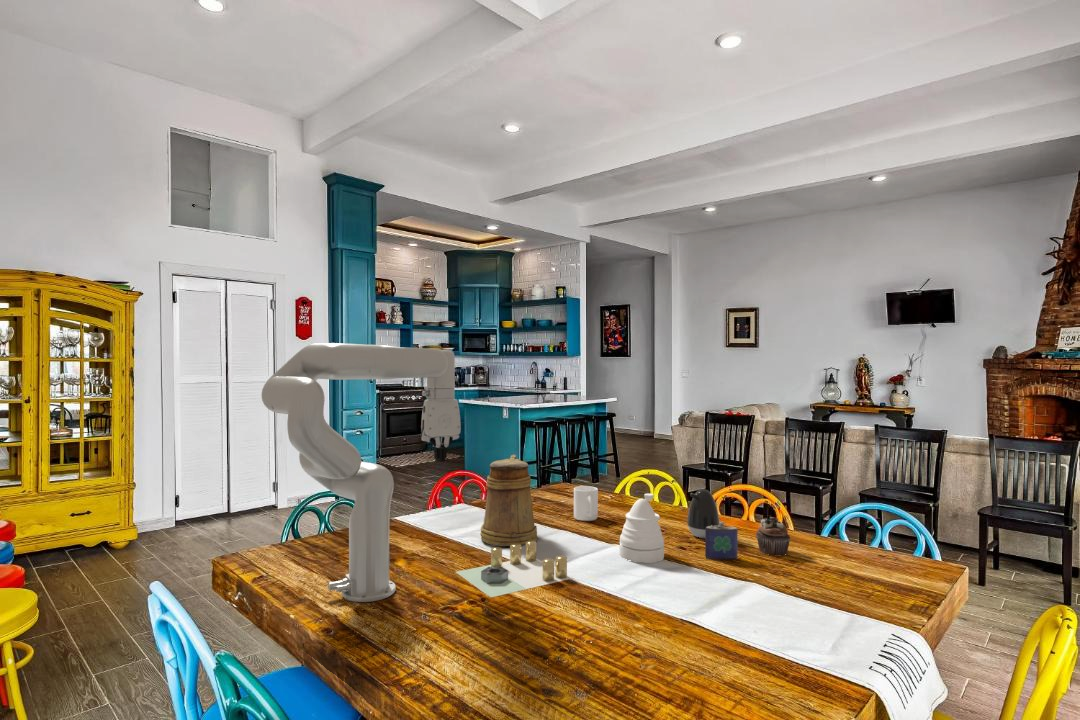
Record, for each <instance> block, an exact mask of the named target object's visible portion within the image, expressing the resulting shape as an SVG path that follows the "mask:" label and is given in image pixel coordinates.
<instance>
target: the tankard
mask: <svg viewBox="0 0 1080 720" xmlns="http://www.w3.org/2000/svg"><path fill="white" fill-rule="evenodd" d="M489 468H490V471H489V475H487V477H486V478H487V479H486V488H487V493H486V494H487V495H486V503H485V509H484V518H483V524H482V525H481V527H480V539H481V541H482V542H483V543H486V544H489V545H493V546H498V547H499V546H500V547H502V546H503V547H510V545H511V544H521V546H526V542H527V541H537V540H538V531H537V530H538V527H537V525H535V519H534V509H533V501H532V493H531V492H532V491H531V485H532V479H531V475H530V474H529V464H528V462H526V461H522V460H521V459H520V458H517V455H516V454H512V455H510V457H509V458H504V459H499V460H495V461H492V462H491V463H490V464H489Z"/></svg>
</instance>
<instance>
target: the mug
mask: <svg viewBox="0 0 1080 720" xmlns="http://www.w3.org/2000/svg"><path fill="white" fill-rule="evenodd" d="M598 494H599V489H598V487H595V486H591V485H590V486H589V485H579V486H575V487H573V518H574V519H575V520H577V521H581V522H591V521H595V520H597V519H598V516H599V512H598V511H599V509H598V508H599V506H598V505H599V501H598V499H599V495H598Z"/></svg>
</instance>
